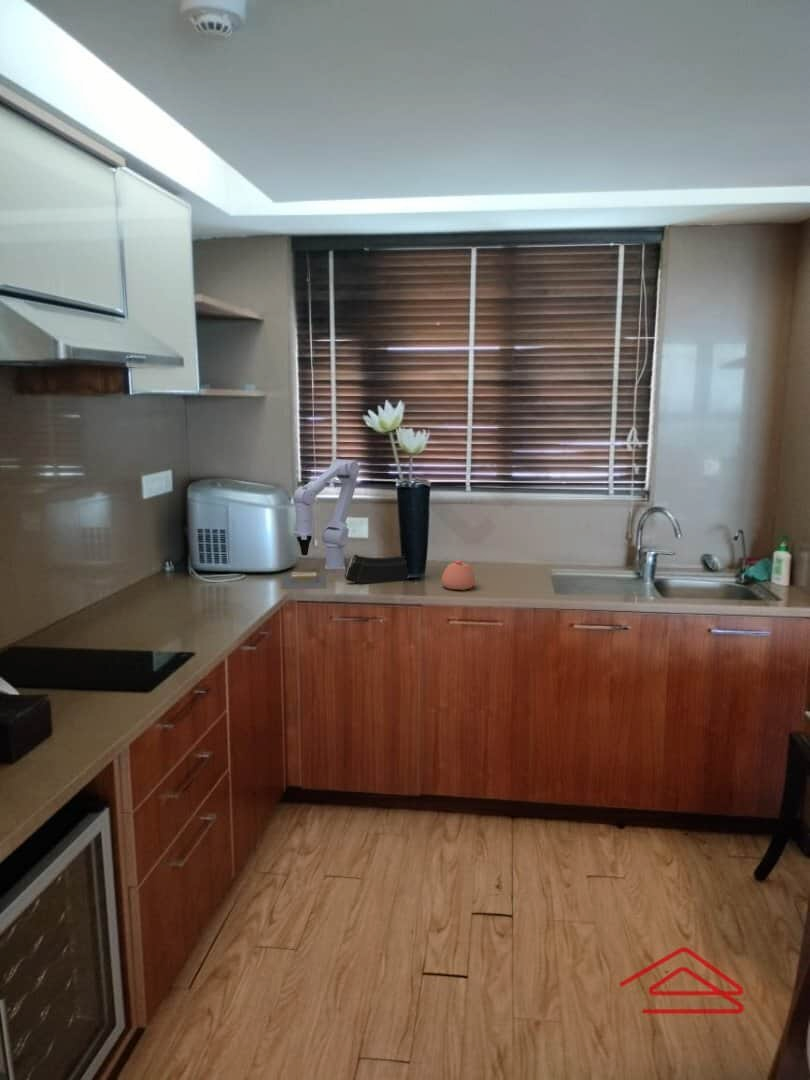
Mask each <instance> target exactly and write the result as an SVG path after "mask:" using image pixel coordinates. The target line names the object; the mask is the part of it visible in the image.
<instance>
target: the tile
mask: <svg viewBox="0 0 810 1080" xmlns="http://www.w3.org/2000/svg"><path fill="white" fill-rule="evenodd" d="M291 575H292V583H316V575H317V571H292V572H291Z"/></svg>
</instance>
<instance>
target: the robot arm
mask: <svg viewBox="0 0 810 1080" xmlns="http://www.w3.org/2000/svg"><path fill="white" fill-rule="evenodd" d="M359 473H360V466H359V464H358V462H357V460H355V459H340V458H336V459H334V460H333V461H332V462H330V465H329V467H328V468H327V469H326V470H325V471H324V472H322V474H321V475H320V476H319V477H312V478H311V479H310V481H309V482H308V483H307V484H305V485H303V486H302V488H298V489H296V490H295V491H294V493H293V496H292V500H293V503H294V506H295V510H296V512H295V513H296V530H295V531H293V534H294V535H298V536H297V537H296V539H297V542H298V544H299V549H300V553H301V556H308V555H309V547H310V544H311V542H312V539H313V536H312V534H313V529H312V528H313V527H312V525H313V524H312V523H313V522H312V521H313V518H312V512H313V511H312V504H314V502H315V499H316V497H317V496H318V495H319V494H320V493H321V492H322V491H323V490H324V489H325V488H326V487H325V486H326V485H327V483H329V482H330V481H331V480H332V479H334V478H335V477H336V478H337V479H338V480H339V481H340V483H341V488H340V491H339V494H338V499H337V502H336V506H335V508H334V512H333V516H332V520H331V521H329V522H328V523H326V524H325V528H324V530H323V531H322V533H321V540H322V543H324V546H325V563H324V568H325V569H324V570H345V569H346V565H345V547H346V545H347V543H348V541H349V531H350V530H349V528H348V526H347V525H346V523H347V518H348V515H349V512H350V508H351V504H352V500H353V497H354V493H355V489H356V488H357V487H356V486H357V480H358V477H359Z"/></svg>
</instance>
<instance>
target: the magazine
mask: <svg viewBox="0 0 810 1080" xmlns="http://www.w3.org/2000/svg"><path fill="white" fill-rule="evenodd" d="M406 563H407V561H406V560H405V556H402V555H397V556H396V555H395V556H388V557H369V556H363V555H361V556H360V555H358V554H354V555H353V556H352V557H351V559H350V561H349V564H348V565H347V566H346V568H345V569H346V570H345V574H344V578H345V580H346V581H348V582H353V583H354V584H358V583H359V584H378V583H379V584H380V583H381V584H382V583H392V582H399V581H405V580H407V579H406V578H407V577H408V568H407V564H406Z"/></svg>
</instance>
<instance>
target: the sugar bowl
mask: <svg viewBox="0 0 810 1080" xmlns="http://www.w3.org/2000/svg"><path fill="white" fill-rule="evenodd" d="M441 584H442V585H443V586H444V587H445V588H446V589H447V590H449V591H452V590H459V591H461V590H465V591H466V590H468V589H471V588H473V586H474V585H475V584H476V578H475V574H474V571H473V570H472V568H471V566H470V565H469V564H467V563H464V562H463V560H459V559H458V560H455V562H452V563H448V565H447V566H446V567H445V569H444V570H443V573H442V576H441Z"/></svg>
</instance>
